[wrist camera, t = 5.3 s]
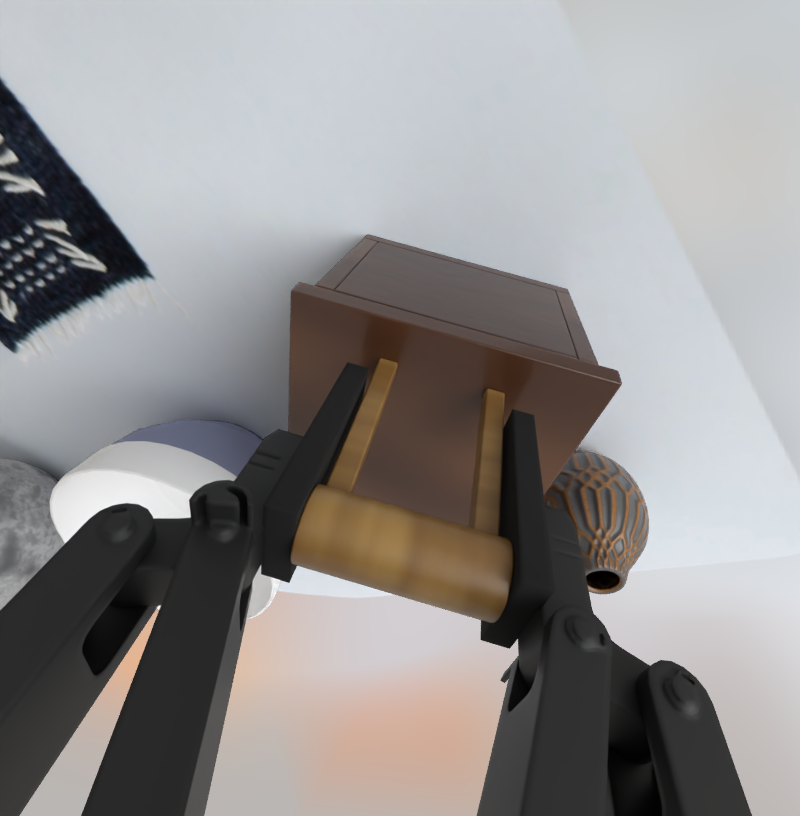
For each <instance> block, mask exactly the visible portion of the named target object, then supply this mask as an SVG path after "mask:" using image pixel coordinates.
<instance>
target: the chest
mask: <svg viewBox="0 0 800 816" xmlns="http://www.w3.org/2000/svg"><path fill="white" fill-rule="evenodd" d="M315 286H317V287H320V288H324V289H327V290H331V291H334V292H338V293H342V294H345V295H349V296H352V297H356V298H359V299H363V300H367V301H370V302H374V303H377V304H381V305H385V306H388V307H392V308H395V309H399V310H402V311H406V312H410V313H413V314H417V315H420V316H424V317H427V318H431V319H435V320H438V321H442V322H445V323H449V324H452V325H456V326H460V327H463V328H467V329H470V330H474V331H478V332H481V333H485V334H488V335H492V336H495V337H499V338H503V339H506V340H510V341H513V342H517V343H520V344H524V345H528V346H531V347H535V348H538V349H542V350H545V351H549V352H553V353H556V354H560V355H563V356H567V357H571V358H574V359H578V360H581V361H585V362H588V363H592V364H596V365H598V362H597V360H596V357H595V355H594V353H593V350H592V348H591V345H590V343H589V340H588V338H587V335H586V333H585V330H584V328H583V326H582V323H581V321H580V318H579V316H578V313H577V311H576V308H575V306H574V304H573V301H572V299H571V296H570V294H569V291H568V289H564V288H561V287H557V286H554V285H550V284H546V283H543V282H539V281H535V280H532V279H528V278H524V277H521V276H517V275H514V274H510V273H506V272H503V271H499V270H495V269H492V268H488V267H485V266H481V265H477V264H474V263H470V262H466V261H463V260H459V259H455V258H452V257H448V256H445V255H441V254H437V253H434V252H430V251H426V250H423V249H419V248H416V247H412V246H408V245H405V244H401V243H397V242H394V241H390V240H386V239H383V238H379V237H376V236H372V235H367V236H366V237H365V238H364V239H363V240H362V241H361V242H360V243H359V244H358V245H357V246H356V247H355V248H354V249H353V250H351V251H350V252H349V253H348V254H347V255H346V256H345V257H344V258H343V259H342V260H341V261H340V262H339V263H338V264H337V265H336V266H335V267H334V268H333V269H331V270H330V271H329V272H328V273H327V274H326V275H325V276H324V277H323V278H322V279H321V280H320V281H319V282H318V283H317V284H316V285H315Z"/></svg>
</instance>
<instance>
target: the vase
mask: <svg viewBox="0 0 800 816" xmlns="http://www.w3.org/2000/svg"><path fill="white" fill-rule="evenodd" d="M544 502H545V505H546V506H550V507H553V508H557V509H560V510H564V511H567V512H568V514H569V516H570V517H571V519H572V521H573V522H574V524H575V526H576V527H577V533H578V538H579V543H580V544H579V547H580V548H581V554H582V559H581V560H583V564H584V570H585V575H586V580H587V585H588V591H589V592H592V593H596V594H610V593H614V592H617V591H619V590H620V589H622V588H623V587H624V585H625V583H626V580H627V576H628V573H629V570H630V569H631V568H632V566H633V565H634V564H635V562H636V561H637V560H638V558H639V557H640V555H641V554H642V552H643V550H644V548H645V545H646V542H647V538H648V531H649V517H648V510H647V506H646V503H645V500H644V497H643V495H642V493H641V491H640V489H639V487H638V485H637V484H636V482H635V481H634V479H633V478H632V477H631V476H630V474H629V473H628V472H627V471H626V470H625V469H624V468H623V467H621V466H620V465H619V464H617V463H616V462H615V461H613V460H611V459H609V458H607V457H605V456H602V455H599V454H595V453H589V452H576V453H573V454H572V456H571V457H570V459H569V460H568V461H567V463H566V464H565V466H564V467H563V468H562V470H561V471H560V473H559V474H558V476H557V477H556V478H555V480H554V481H553V483H552V484H551V485H550V487H549V488H548V490H547V491H546V493H545V494H544Z"/></svg>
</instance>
